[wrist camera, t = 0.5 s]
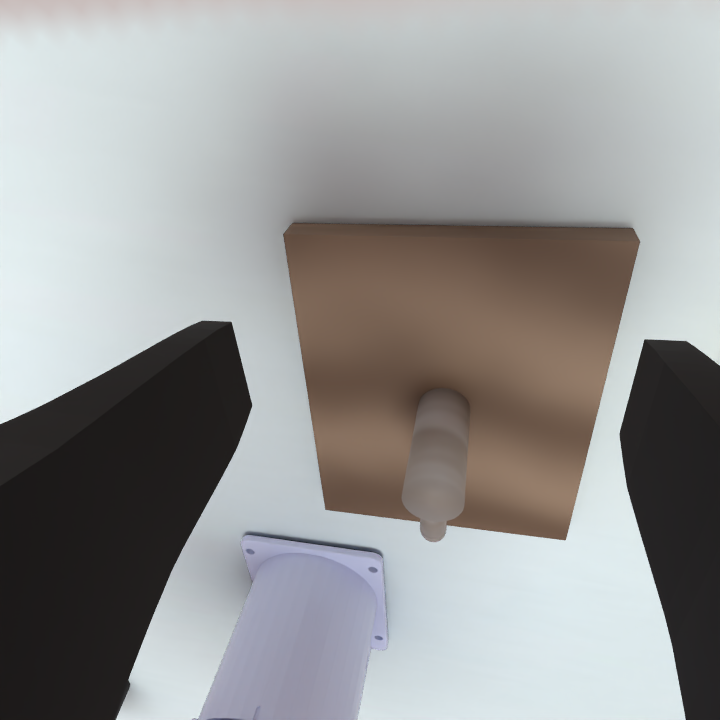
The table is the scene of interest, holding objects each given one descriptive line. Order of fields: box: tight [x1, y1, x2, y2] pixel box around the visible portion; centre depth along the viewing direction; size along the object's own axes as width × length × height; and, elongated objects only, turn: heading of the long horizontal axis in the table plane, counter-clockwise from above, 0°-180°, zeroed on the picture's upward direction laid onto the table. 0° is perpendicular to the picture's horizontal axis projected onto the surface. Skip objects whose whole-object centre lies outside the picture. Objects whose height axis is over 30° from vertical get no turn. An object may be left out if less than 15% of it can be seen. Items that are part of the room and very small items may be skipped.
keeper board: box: [283, 223, 640, 542], centre depth 19 cm, size 14×11×6 cm
